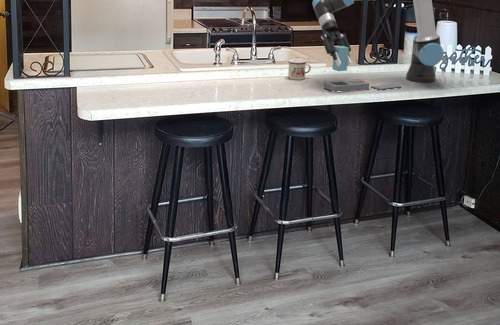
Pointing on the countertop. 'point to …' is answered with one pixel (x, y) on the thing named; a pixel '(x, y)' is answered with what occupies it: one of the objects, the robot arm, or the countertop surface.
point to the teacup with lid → (297, 68)
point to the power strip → (346, 85)
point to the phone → (385, 87)
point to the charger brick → (341, 58)
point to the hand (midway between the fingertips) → (344, 64)
